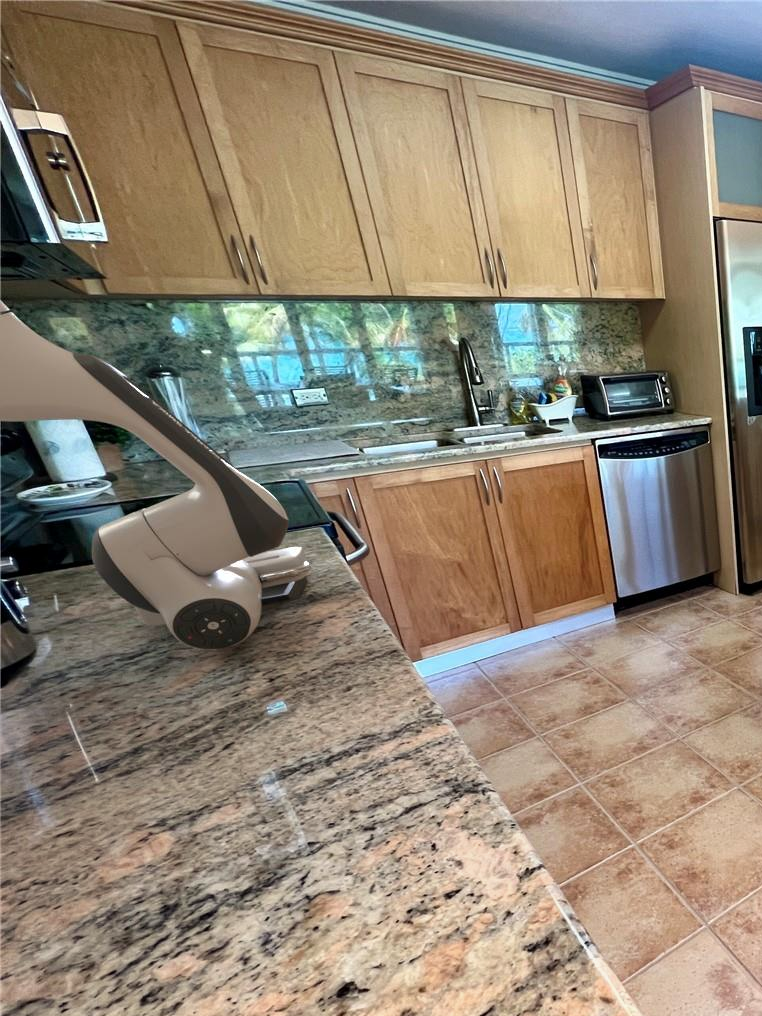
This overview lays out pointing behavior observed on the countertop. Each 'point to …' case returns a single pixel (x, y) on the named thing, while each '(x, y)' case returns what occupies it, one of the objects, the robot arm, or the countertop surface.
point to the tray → (283, 591)
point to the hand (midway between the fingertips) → (225, 563)
